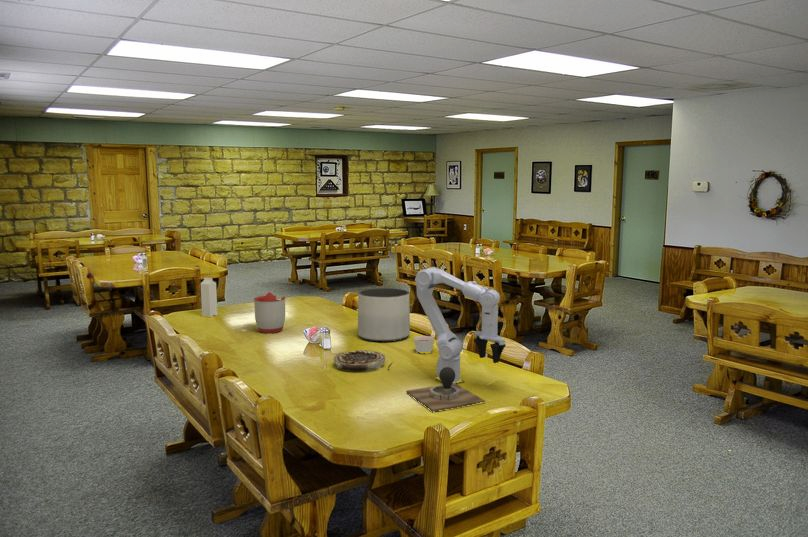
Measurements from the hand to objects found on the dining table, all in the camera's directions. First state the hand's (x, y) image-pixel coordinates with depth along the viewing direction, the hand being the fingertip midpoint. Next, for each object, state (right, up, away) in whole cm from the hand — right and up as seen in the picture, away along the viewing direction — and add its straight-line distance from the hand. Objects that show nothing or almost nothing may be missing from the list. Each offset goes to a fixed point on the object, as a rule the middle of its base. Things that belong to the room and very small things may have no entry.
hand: (489, 360), depth 216 cm
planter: (-41, 0, +74) cm, 85 cm away
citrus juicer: (-98, +2, +86) cm, 130 cm away
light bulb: (-16, -11, -10) cm, 22 cm away
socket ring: (-17, -12, -10) cm, 23 cm away
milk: (-141, +6, +118) cm, 184 cm away
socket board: (-17, -12, -10) cm, 23 cm away
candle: (-22, -4, +47) cm, 52 cm away
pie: (-50, -7, +28) cm, 58 cm away
